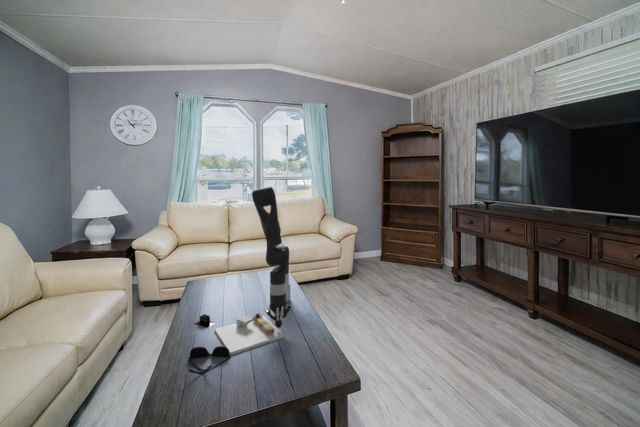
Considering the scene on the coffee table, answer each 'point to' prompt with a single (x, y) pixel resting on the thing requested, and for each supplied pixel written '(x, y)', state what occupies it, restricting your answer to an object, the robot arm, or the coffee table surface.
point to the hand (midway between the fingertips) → (278, 327)
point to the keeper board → (245, 335)
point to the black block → (204, 321)
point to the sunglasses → (203, 352)
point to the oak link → (263, 324)
